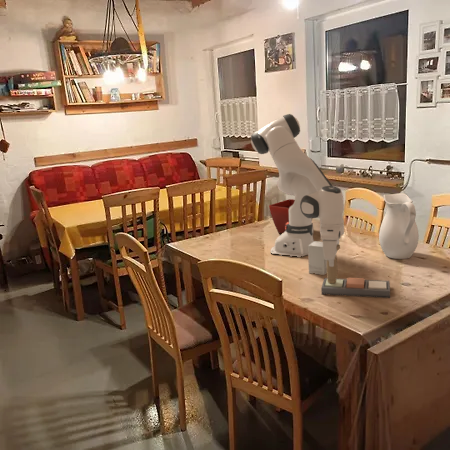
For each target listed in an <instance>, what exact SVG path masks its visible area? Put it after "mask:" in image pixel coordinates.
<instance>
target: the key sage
mask: <svg viewBox="0 0 450 450" xmlns="http://www.w3.org/2000/svg"><path fill="white" fill-rule="evenodd" d="M339 279H340V278H336V282H335V283H334V284H333V283H331V284H330V283H328V280H326V284H325V287H343V280H339Z"/></svg>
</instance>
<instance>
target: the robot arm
mask: <svg viewBox="0 0 450 450" xmlns="http://www.w3.org/2000/svg"><path fill="white" fill-rule="evenodd" d="M300 133H301V125H300V121H299V120H298V119H297V118H296V116H294V115H293V114H291V113H288V114H284V115H282V116H281V117H278V118H276V119H274V120H271V121H270V122H269V123H267V124H265V125H264V126H262V127H261V128H259V130H256V131H254V132H253V133H252V134H251V135H250V141H251V142H250V143H251V147H252V149H253V150H254V151H255V152H256V153H258V154H259V155H264V154H268V153H270V155H271V158H272V160H273V161H274V162H273V163H274V164H275V167H276V168H277V171H278V175H279V176H278V177H277V181H276V185H277V188H278V190H279V191H280V192H282V193H283V194H286V195H289V196H294V200H295V202H294V204H293V205H292V206H290V208H289V222H287V223H286V226H285V232H284V233H283V234H280V235H279V236H277V238H276V239H275V240H274V241H275V242H274V245H273V246H272V247H271V248H270V252H271V253H272V254H281V255H280V256H282V255H290V256H289V257H292V256H297V257H296V258H302V257H304V256H308V246H309V245H310V244H311V243H312V242H314V241H315V240H314V224H313V219H319V233H320V240H322V242H323V252H324V258H325V260H329V266H330V267H333V266H334V260H335V256H336V257H337V252H338V250H337V244H339V245H340V239H341V237H342V236H344V234H345V221H344V217H343V216H344V212H345V211H344V210H345V208H344V207H345V206H344V205H345V204H344V195H343V191H342V190H341V188H339V187H338V186H334V185H332V183H331V181H329V179H328V178H327V176H326V174H324V172H323V171H322V170H321V168H320V167H319V165H318V164H317V163H316V162H315V160H313V159H312V158H311V157H309V156H308V155H307V154H306V153H305V152H304V151H303V150H302V149H301V148H300V146H299V144H298V142H297V140H295V138H296V137H298V135H300ZM271 253H270V254H271ZM272 254H271V255H272ZM301 256H302V257H301Z"/></svg>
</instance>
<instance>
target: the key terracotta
mask: <svg viewBox="0 0 450 450" xmlns="http://www.w3.org/2000/svg"><path fill="white" fill-rule="evenodd" d="M346 279H347V283H346V288H364V280H365V277H364V278H363V277H362V278H361V277H347V278H346Z"/></svg>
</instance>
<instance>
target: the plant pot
mask: <svg viewBox="0 0 450 450" xmlns="http://www.w3.org/2000/svg"><path fill="white" fill-rule="evenodd" d="M294 202H295V199H291V198H290V199H286V200H282V201H279V202H275V203H273V204H269V205H268V208H269V212H270V215H271V219H272V221H273V224H274V226H275V229H276V231H277V232H278V234H280V233H284V232H285V226H286V223H287V222H289V208H290V206H292V205H293V204H294Z"/></svg>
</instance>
